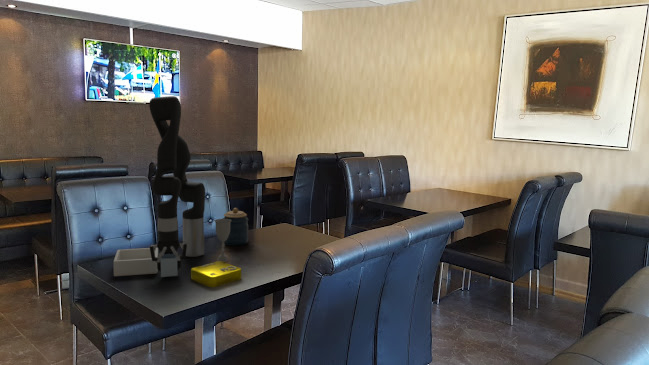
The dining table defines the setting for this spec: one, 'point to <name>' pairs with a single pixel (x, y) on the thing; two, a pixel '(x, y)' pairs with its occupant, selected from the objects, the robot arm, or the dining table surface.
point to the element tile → (216, 274)
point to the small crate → (169, 265)
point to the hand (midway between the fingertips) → (169, 269)
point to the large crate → (134, 262)
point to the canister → (237, 227)
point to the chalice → (223, 235)
